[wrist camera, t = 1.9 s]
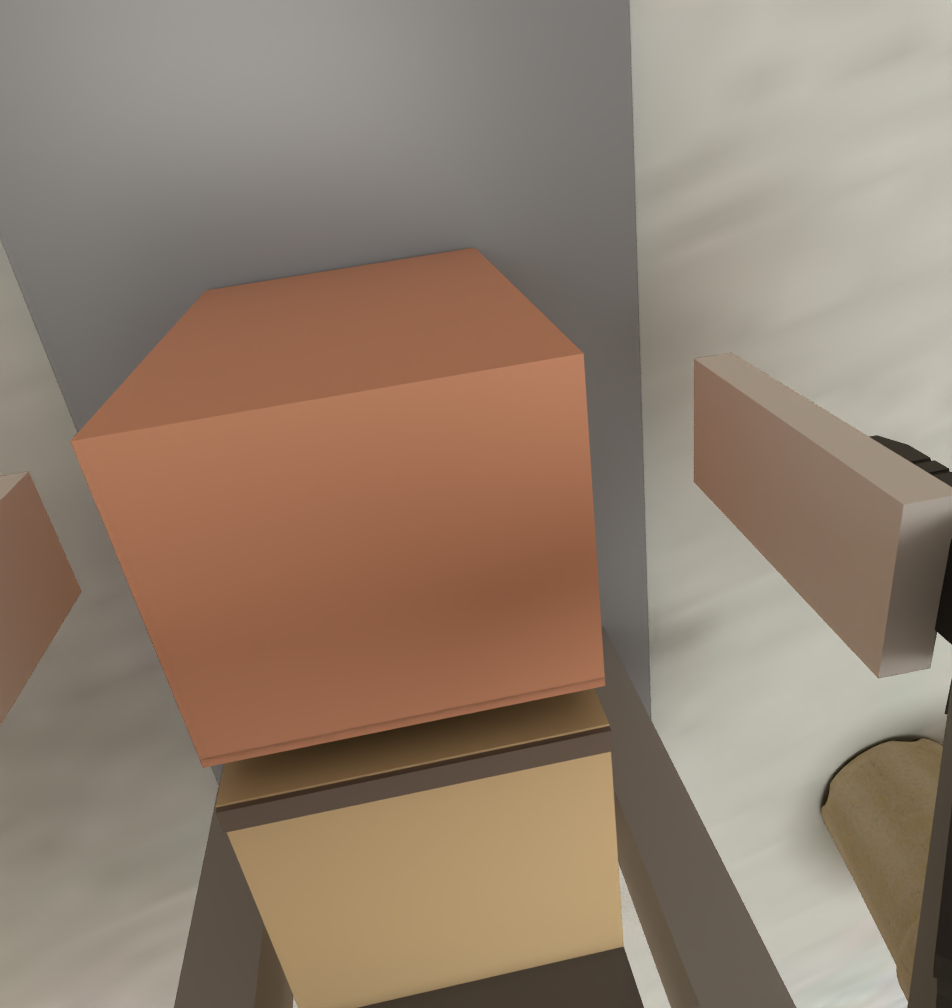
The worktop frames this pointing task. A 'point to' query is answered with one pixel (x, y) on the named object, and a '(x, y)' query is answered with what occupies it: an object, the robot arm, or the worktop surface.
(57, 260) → the holder
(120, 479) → the block
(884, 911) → the flower pot
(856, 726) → the worktop surface
